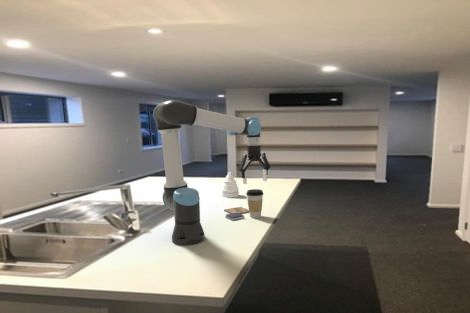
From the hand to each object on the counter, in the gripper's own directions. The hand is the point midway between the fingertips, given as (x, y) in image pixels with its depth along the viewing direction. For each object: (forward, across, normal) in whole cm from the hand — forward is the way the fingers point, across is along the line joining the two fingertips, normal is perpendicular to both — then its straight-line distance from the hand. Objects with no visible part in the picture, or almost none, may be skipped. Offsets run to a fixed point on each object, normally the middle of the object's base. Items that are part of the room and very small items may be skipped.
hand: (255, 182), depth 181 cm
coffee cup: (+20, 0, 0) cm, 20 cm away
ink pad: (+20, -11, +5) cm, 23 cm away
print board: (+20, -3, +16) cm, 26 cm away
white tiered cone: (+20, +15, +58) cm, 63 cm away
